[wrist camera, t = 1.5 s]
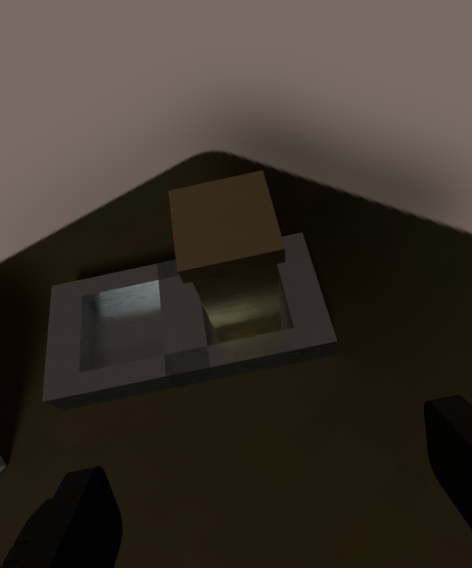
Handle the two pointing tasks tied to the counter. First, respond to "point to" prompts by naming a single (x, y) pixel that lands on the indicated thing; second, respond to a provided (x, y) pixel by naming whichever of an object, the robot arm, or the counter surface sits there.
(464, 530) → the counter surface
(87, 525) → the robot arm
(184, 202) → the brown square post
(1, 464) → the supplement box
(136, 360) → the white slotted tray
